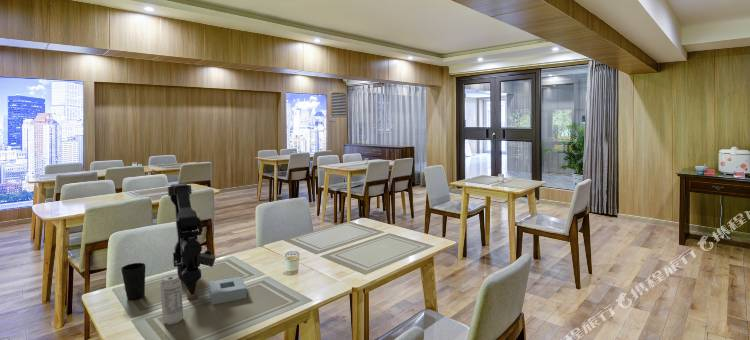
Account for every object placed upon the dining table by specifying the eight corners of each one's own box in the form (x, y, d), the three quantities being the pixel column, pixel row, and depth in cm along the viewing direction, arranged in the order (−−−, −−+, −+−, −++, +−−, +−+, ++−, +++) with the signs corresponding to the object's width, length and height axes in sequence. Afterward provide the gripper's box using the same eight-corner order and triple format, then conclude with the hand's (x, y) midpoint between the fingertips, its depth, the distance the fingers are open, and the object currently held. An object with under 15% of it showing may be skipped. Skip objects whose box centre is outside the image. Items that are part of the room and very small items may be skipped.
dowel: (187, 297, 150) (185, 276, 149) (197, 295, 152) (196, 274, 151) (187, 301, 147) (186, 280, 146) (198, 299, 149) (197, 278, 148)
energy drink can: (183, 314, 137) (180, 272, 135) (184, 322, 132) (181, 279, 130) (163, 319, 134) (159, 276, 132) (163, 327, 129) (160, 282, 127)
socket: (209, 291, 155) (208, 281, 154) (241, 286, 160) (241, 276, 160) (212, 304, 144) (211, 294, 144) (246, 298, 149) (246, 287, 149)
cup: (120, 303, 145) (118, 271, 144) (127, 294, 153) (125, 263, 151) (144, 300, 148) (142, 269, 146) (150, 291, 155) (147, 261, 153)
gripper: (215, 253, 142) (217, 295, 144) (211, 239, 159) (213, 276, 161) (180, 258, 137) (183, 301, 140) (180, 242, 154) (182, 281, 156)
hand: (192, 289), depth 149 cm, fingers open, 9 cm apart
